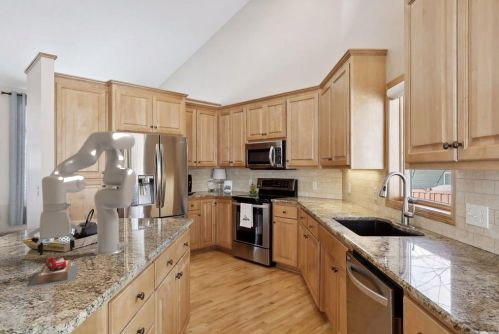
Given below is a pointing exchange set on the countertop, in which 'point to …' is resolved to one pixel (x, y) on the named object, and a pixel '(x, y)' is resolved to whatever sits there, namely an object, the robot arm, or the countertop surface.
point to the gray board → (71, 278)
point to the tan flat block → (54, 274)
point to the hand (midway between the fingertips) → (56, 251)
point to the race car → (55, 263)
